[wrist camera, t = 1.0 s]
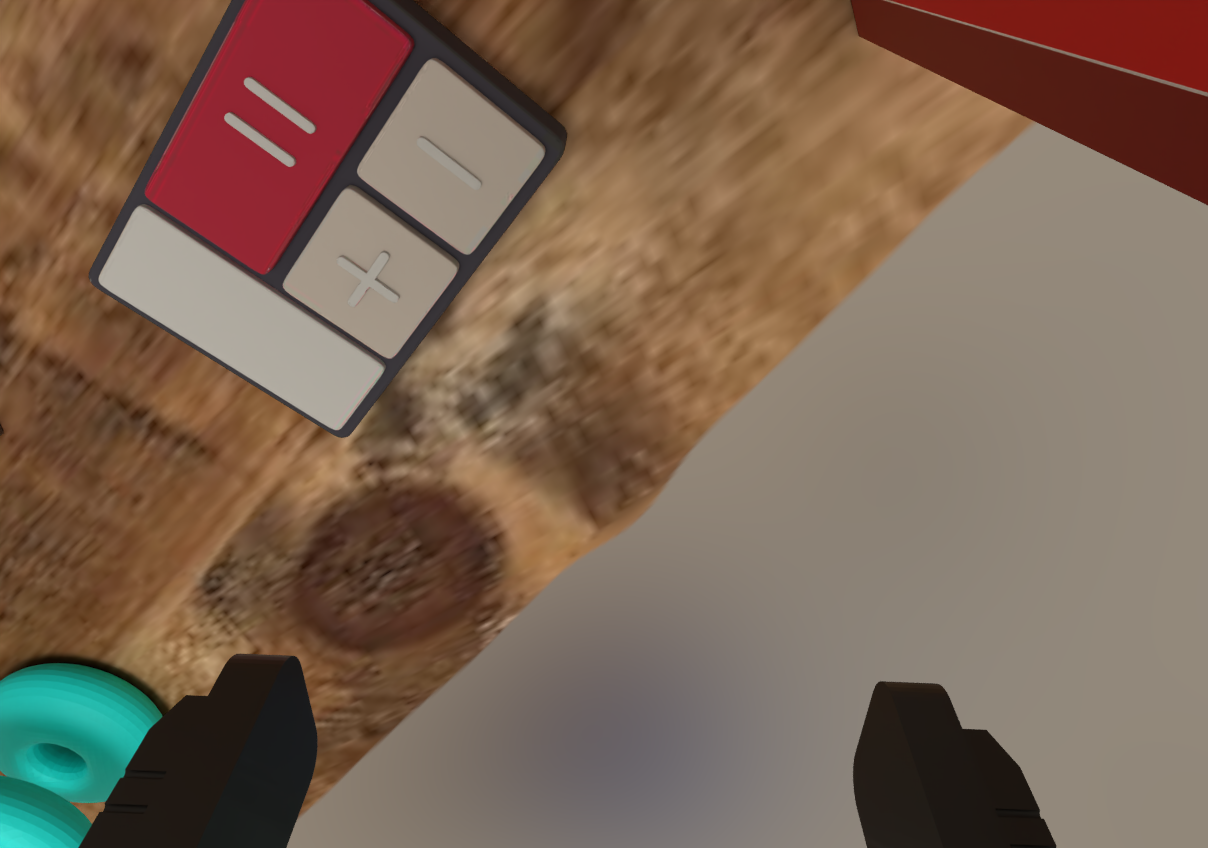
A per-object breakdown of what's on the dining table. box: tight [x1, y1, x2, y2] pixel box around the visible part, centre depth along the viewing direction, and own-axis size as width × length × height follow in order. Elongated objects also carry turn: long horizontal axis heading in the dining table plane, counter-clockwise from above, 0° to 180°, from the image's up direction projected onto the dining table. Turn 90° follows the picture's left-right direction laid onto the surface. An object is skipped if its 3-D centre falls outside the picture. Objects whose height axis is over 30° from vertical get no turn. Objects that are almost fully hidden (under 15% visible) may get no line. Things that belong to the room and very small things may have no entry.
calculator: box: [89, 0, 567, 438], centre depth 30 cm, size 11×4×15 cm
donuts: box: [0, 663, 163, 848], centre depth 43 cm, size 10×10×10 cm
